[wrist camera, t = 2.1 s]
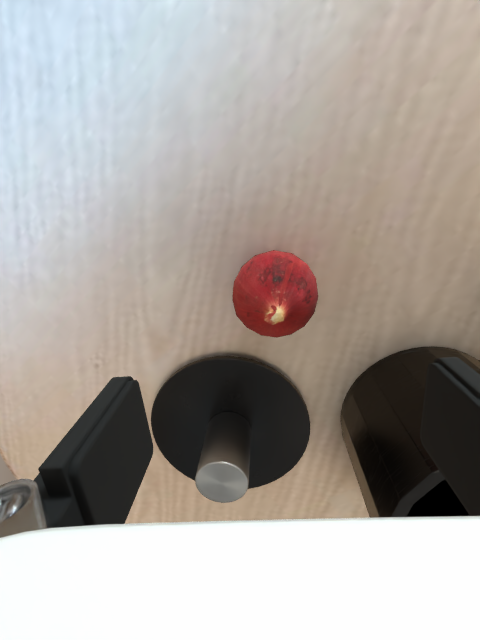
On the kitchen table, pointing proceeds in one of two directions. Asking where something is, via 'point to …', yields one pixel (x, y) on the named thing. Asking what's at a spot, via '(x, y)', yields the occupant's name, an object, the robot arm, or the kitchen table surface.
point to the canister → (397, 437)
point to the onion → (275, 294)
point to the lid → (230, 425)
